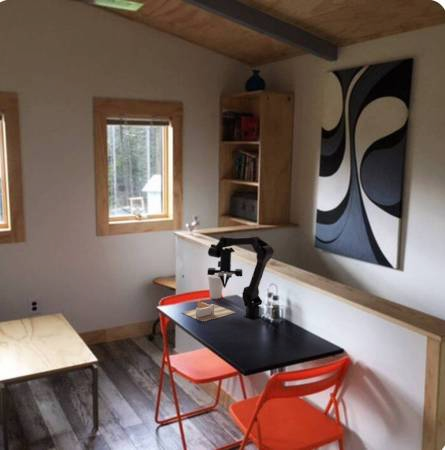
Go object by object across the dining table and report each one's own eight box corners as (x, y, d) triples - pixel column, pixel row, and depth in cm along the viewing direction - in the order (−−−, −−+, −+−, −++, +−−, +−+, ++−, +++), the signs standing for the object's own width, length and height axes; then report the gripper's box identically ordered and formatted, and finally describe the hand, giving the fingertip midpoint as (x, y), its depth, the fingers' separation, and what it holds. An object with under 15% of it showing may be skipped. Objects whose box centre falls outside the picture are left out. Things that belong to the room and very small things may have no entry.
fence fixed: (214, 315, 276) (215, 304, 275) (197, 319, 268) (197, 309, 267) (212, 314, 277) (212, 303, 276) (194, 318, 269) (195, 308, 268)
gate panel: (199, 308, 284) (199, 299, 283) (211, 312, 277) (211, 303, 277) (196, 308, 283) (197, 300, 282) (208, 313, 276) (209, 304, 275)
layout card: (236, 313, 280) (236, 312, 280) (202, 322, 264) (202, 321, 264) (214, 305, 292) (214, 304, 292) (181, 313, 277) (181, 312, 276)
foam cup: (226, 296, 309) (227, 275, 307) (218, 300, 302) (218, 278, 300) (213, 293, 314) (213, 272, 312) (204, 297, 306) (205, 275, 304)
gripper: (243, 257, 290) (241, 284, 293) (209, 255, 291) (208, 282, 293) (242, 261, 279) (241, 289, 282) (207, 259, 280) (206, 288, 282)
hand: (224, 287), depth 285 cm, fingers closed
